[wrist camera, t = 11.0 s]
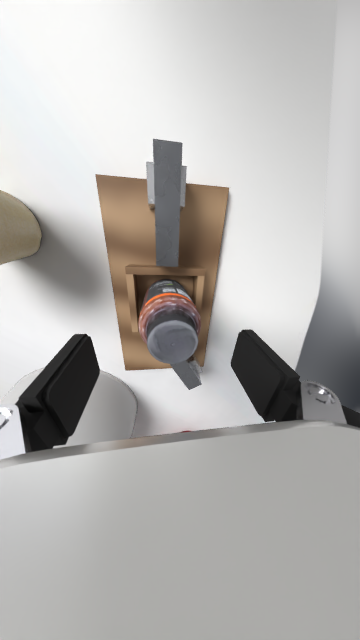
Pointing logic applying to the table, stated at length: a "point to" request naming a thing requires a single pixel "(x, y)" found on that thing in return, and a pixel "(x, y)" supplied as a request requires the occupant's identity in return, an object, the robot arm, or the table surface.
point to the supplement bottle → (169, 322)
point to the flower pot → (17, 230)
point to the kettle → (94, 410)
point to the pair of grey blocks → (170, 223)
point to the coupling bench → (140, 256)
